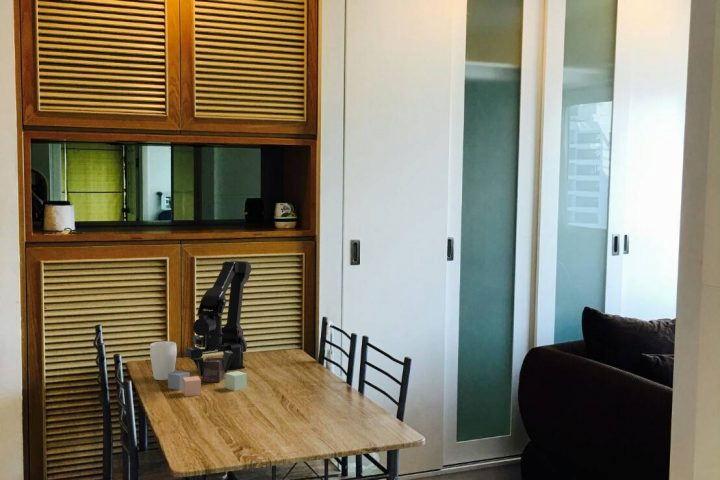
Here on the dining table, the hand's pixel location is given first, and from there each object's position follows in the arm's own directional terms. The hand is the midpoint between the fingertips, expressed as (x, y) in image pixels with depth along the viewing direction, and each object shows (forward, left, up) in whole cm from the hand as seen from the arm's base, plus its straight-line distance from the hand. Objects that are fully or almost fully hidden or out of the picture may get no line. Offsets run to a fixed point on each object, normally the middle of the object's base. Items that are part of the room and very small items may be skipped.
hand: (213, 374), depth 276 cm
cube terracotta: (+13, +11, -2) cm, 17 cm away
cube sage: (-2, +13, -2) cm, 13 cm away
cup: (+13, -12, -2) cm, 18 cm away
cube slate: (+13, +2, -2) cm, 14 cm away
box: (0, 0, -2) cm, 2 cm away
